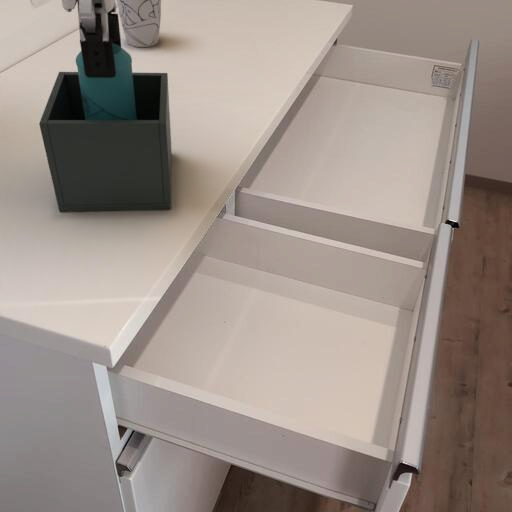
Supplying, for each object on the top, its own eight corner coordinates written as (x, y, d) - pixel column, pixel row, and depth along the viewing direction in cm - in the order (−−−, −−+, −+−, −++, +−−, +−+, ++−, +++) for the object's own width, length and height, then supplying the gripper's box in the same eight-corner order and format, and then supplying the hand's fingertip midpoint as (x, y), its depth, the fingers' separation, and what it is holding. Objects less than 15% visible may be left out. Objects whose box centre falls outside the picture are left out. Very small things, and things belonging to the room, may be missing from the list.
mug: (107, 33, 112) (100, -19, 105) (144, 27, 116) (140, -24, 109) (133, 52, 105) (128, -3, 98) (171, 45, 109) (168, -9, 103)
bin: (59, 212, 67) (39, 123, 59) (74, 154, 77) (58, 71, 69) (171, 209, 68) (166, 123, 61) (171, 153, 79) (167, 72, 71)
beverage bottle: (127, 155, 76) (110, 3, 62) (153, 177, 72) (140, 21, 59) (84, 170, 72) (56, 12, 59) (108, 193, 69) (84, 32, 55)
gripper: (53, -141, 56) (80, 33, 68) (17, -114, 43) (58, 96, 55) (127, -137, 57) (141, 35, 69) (113, -109, 44) (133, 96, 56)
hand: (104, 60), depth 62 cm, fingers open, 7 cm apart
